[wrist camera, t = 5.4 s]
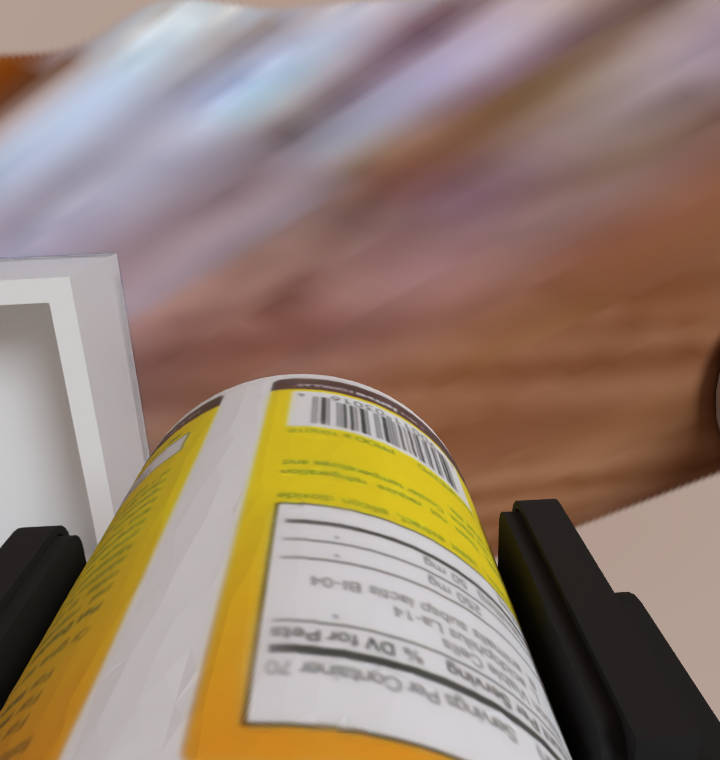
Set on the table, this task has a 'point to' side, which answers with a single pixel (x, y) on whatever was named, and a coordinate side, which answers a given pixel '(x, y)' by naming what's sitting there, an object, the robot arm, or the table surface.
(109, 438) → the box
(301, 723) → the supplement bottle
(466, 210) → the table surface
